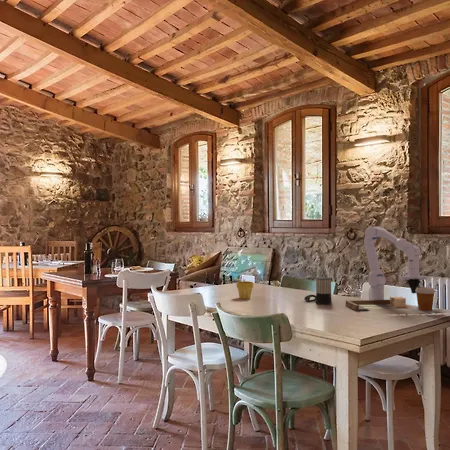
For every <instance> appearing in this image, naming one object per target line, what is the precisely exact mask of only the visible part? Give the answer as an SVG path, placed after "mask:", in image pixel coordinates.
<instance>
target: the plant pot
mask: <svg viewBox="0 0 450 450" xmlns="http://www.w3.org/2000/svg"><path fill="white" fill-rule="evenodd" d="M236 288H237V291H238V297H239V299H241V300H242V299H243V300H246V299H251V296H252V290H253V288H254V282H253V281H245V280H242V281H237V282H236Z"/></svg>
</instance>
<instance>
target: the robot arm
mask: <svg viewBox="0 0 450 450" xmlns="http://www.w3.org/2000/svg"><path fill="white" fill-rule="evenodd" d="M364 234H365V235H364V239H363V244H364V248H365V253H366V257H367V262H368V267H369V273H368V285H369V286H370V287H369V289H368V300H385V284H386V283H387V278H386V277H385V275H384V272H383V271H382V270H381V267H380V264H379V263H380V262H379V259H378V255H377V250H376V246H375V243H376V242H377V240H378V239H379V238H384V239H386V240H387V241H390V242H391V243H393V244H395V247H396V248H397V249H399V250H400V251H402V252H403V253H404V254H405V255H406V256H407V275H402V276H399V281H406V282H407V283H408V285H409V288H410V291H411V294H416V291H415V290H416V288H418V287H419V285H420V283H421V281H422V280H425V281H428V276H427V275H420V255H421V253H422V252H421V250H422V249H421V248H420V247H419V245H414V243H410V242H409V241H408V240H407V239H406V238H402V237H401V238H399V237H397V236H396V235H394V234H392V233H391V232H390V231H388V230H386V229H385V227H384V228H383V227H382V226H379V225H378V226H368V227H367V228H366V229H365V231H364Z"/></svg>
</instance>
